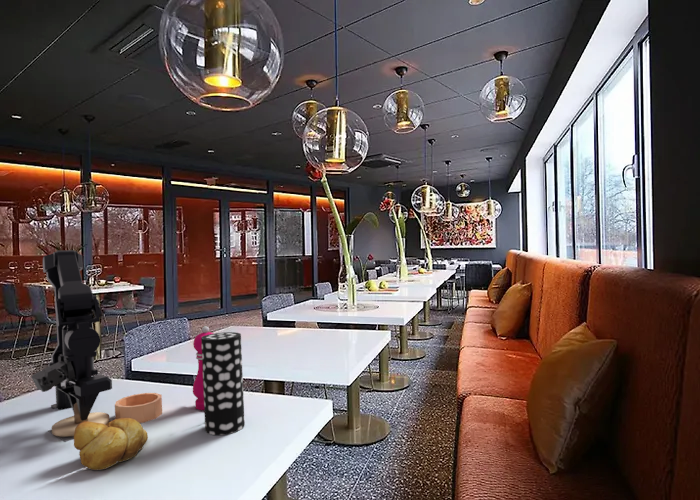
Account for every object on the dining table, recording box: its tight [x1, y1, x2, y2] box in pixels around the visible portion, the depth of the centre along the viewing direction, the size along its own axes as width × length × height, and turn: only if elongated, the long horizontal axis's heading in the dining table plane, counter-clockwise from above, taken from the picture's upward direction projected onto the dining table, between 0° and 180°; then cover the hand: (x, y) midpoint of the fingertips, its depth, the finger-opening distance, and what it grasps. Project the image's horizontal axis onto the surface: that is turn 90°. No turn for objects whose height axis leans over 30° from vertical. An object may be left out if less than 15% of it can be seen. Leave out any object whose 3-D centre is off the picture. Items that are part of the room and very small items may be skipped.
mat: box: [47, 429, 74, 443], centre depth 99 cm, size 10×10×1 cm
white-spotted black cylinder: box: [201, 331, 246, 436], centre depth 98 cm, size 8×8×20 cm
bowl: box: [114, 392, 163, 424], centre depth 105 cm, size 10×10×4 cm
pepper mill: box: [192, 325, 215, 411], centre depth 112 cm, size 7×7×20 cm
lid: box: [51, 403, 110, 437], centre depth 99 cm, size 11×11×5 cm
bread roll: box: [73, 418, 149, 471], centre depth 85 cm, size 13×10×8 cm
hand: (81, 418), depth 99 cm, fingers closed on lid, 3 cm apart
